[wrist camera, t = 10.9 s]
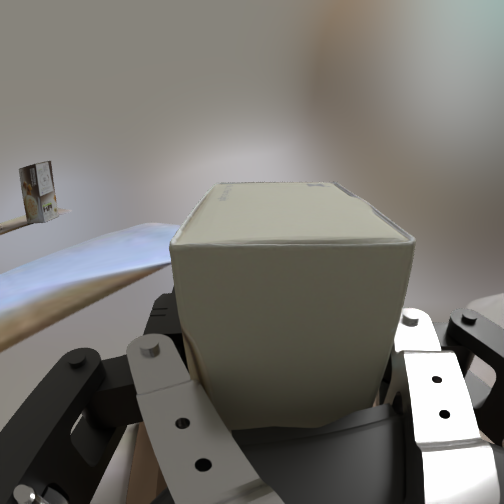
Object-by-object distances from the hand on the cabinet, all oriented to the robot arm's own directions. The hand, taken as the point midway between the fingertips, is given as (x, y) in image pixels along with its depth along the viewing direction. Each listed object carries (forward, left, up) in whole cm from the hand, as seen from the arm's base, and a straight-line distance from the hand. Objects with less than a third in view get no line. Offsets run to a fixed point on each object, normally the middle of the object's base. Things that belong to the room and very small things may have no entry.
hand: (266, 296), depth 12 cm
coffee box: (+53, -65, -9) cm, 85 cm away
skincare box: (0, +3, -8) cm, 9 cm away
